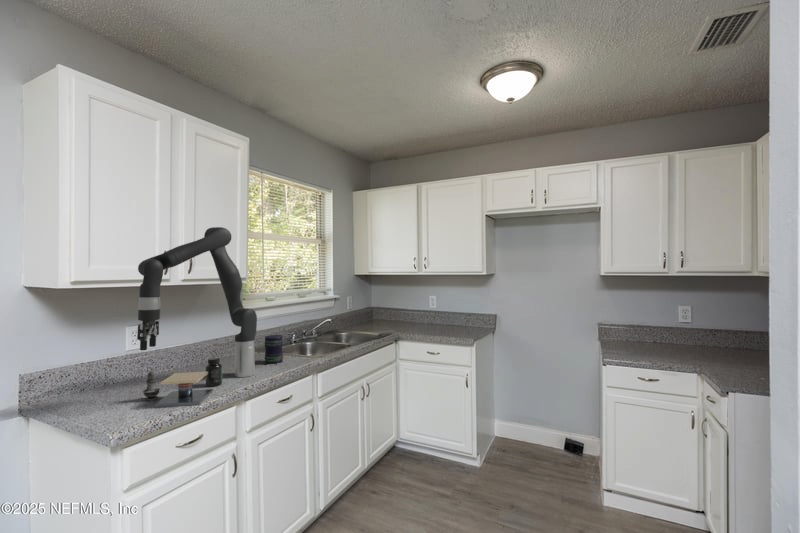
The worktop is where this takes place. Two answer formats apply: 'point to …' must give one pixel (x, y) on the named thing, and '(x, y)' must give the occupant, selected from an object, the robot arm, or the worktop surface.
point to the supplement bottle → (213, 372)
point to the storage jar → (273, 349)
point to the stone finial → (151, 387)
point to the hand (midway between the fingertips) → (148, 348)
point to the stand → (184, 390)
